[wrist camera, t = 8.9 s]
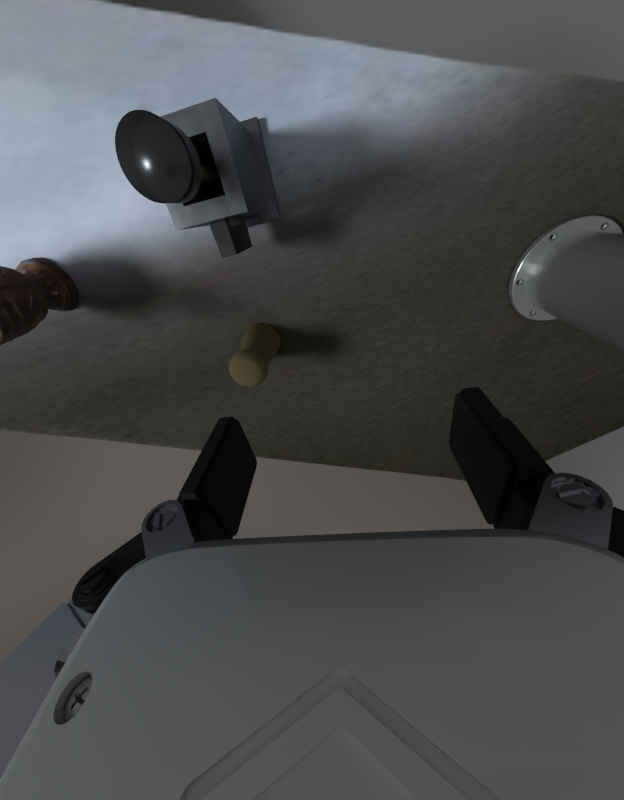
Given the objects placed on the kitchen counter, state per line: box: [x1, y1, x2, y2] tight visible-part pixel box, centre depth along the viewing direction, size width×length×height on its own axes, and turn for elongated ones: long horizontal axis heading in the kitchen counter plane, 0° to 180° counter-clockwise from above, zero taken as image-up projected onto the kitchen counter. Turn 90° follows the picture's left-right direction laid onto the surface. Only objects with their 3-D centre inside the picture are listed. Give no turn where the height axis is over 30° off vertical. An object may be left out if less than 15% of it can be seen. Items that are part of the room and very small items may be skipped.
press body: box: [161, 98, 280, 258], centre depth 28 cm, size 9×11×12 cm
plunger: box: [115, 110, 225, 204], centre depth 23 cm, size 4×4×15 cm
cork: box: [229, 323, 280, 387], centre depth 39 cm, size 6×6×11 cm
